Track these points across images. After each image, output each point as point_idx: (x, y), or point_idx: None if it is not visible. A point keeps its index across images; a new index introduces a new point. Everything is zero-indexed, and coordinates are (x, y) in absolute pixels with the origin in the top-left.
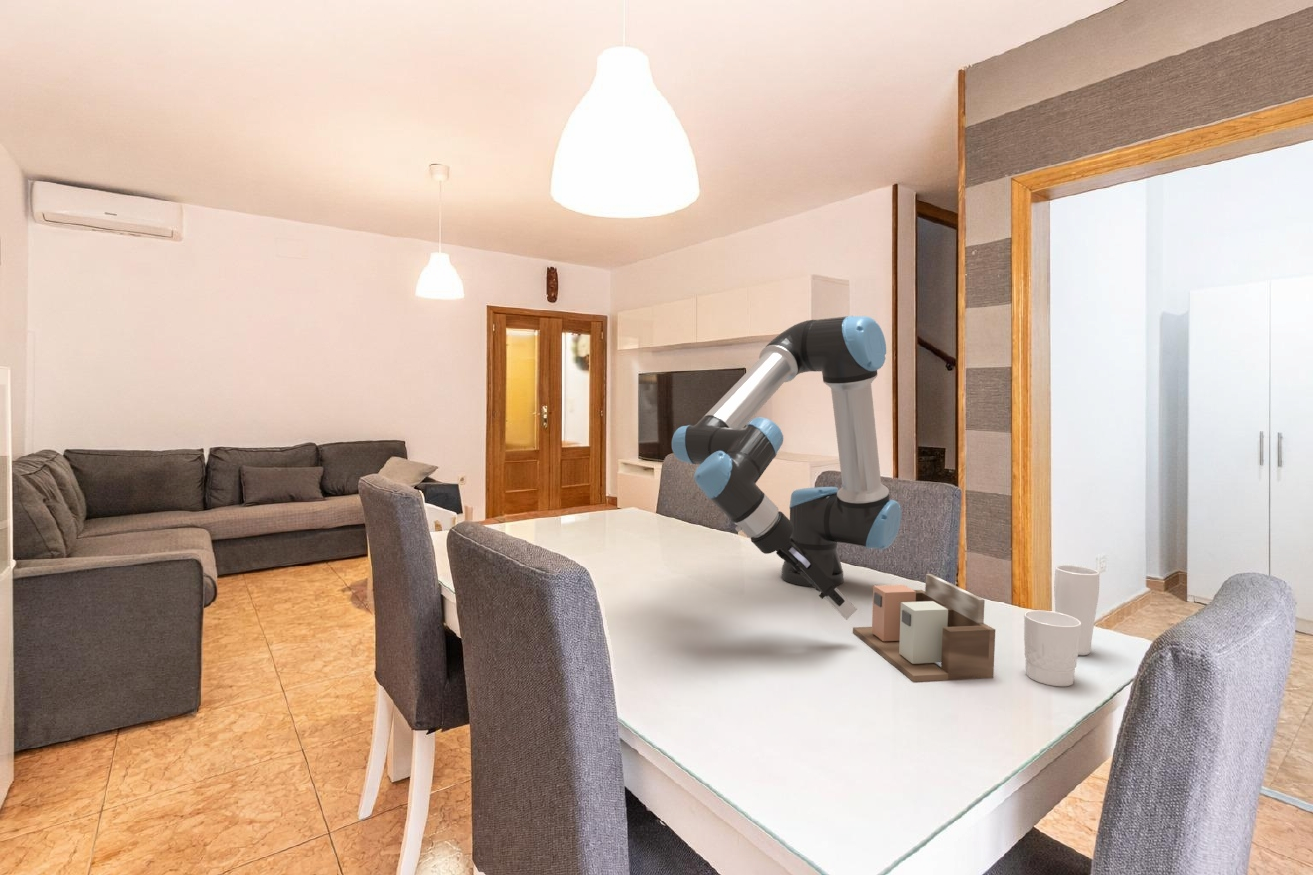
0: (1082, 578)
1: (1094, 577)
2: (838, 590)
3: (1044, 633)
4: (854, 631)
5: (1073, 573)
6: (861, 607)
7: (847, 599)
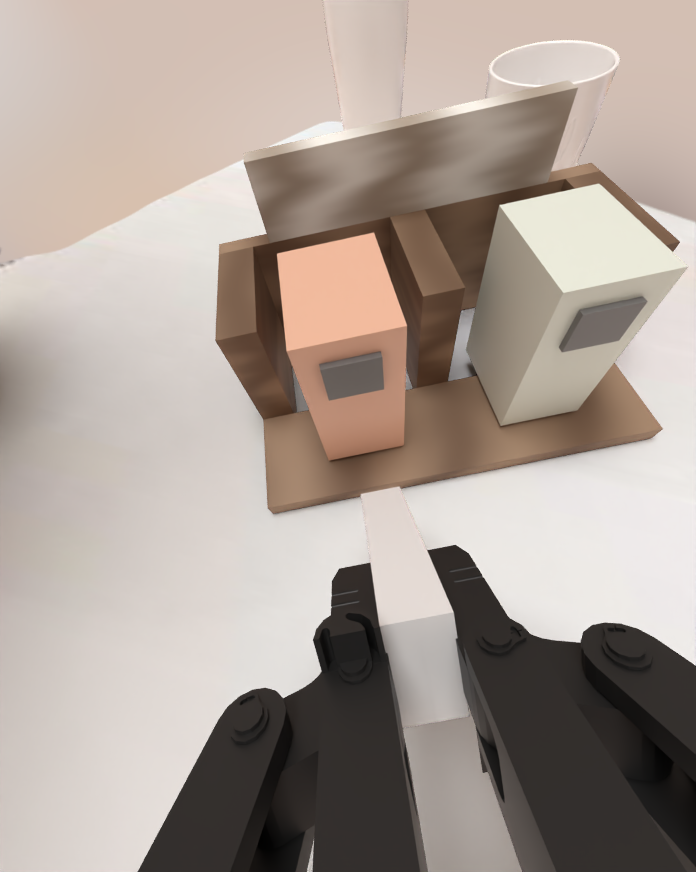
0: None
1: None
2: (434, 572)
3: (600, 102)
4: (283, 508)
5: None
6: (72, 436)
7: (414, 521)
